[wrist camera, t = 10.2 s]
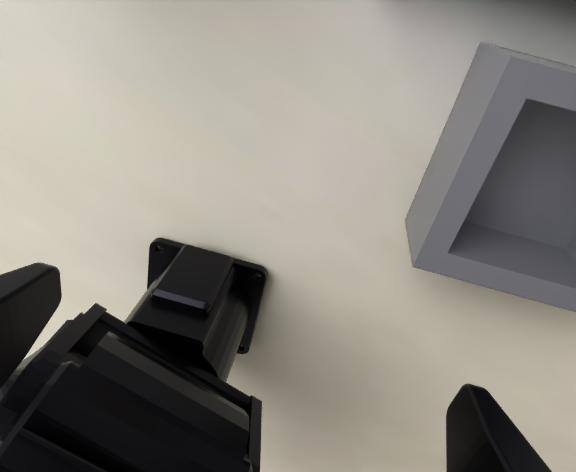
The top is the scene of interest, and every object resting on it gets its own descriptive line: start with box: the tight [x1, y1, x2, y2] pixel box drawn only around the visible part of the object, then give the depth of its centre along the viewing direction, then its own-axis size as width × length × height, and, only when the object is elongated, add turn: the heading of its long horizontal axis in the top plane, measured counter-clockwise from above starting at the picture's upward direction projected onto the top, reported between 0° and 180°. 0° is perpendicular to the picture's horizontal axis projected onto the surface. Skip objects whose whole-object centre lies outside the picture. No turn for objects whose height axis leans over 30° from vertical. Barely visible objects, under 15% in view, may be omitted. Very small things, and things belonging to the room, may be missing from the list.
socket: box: [405, 42, 576, 312], centre depth 16 cm, size 8×8×4 cm
